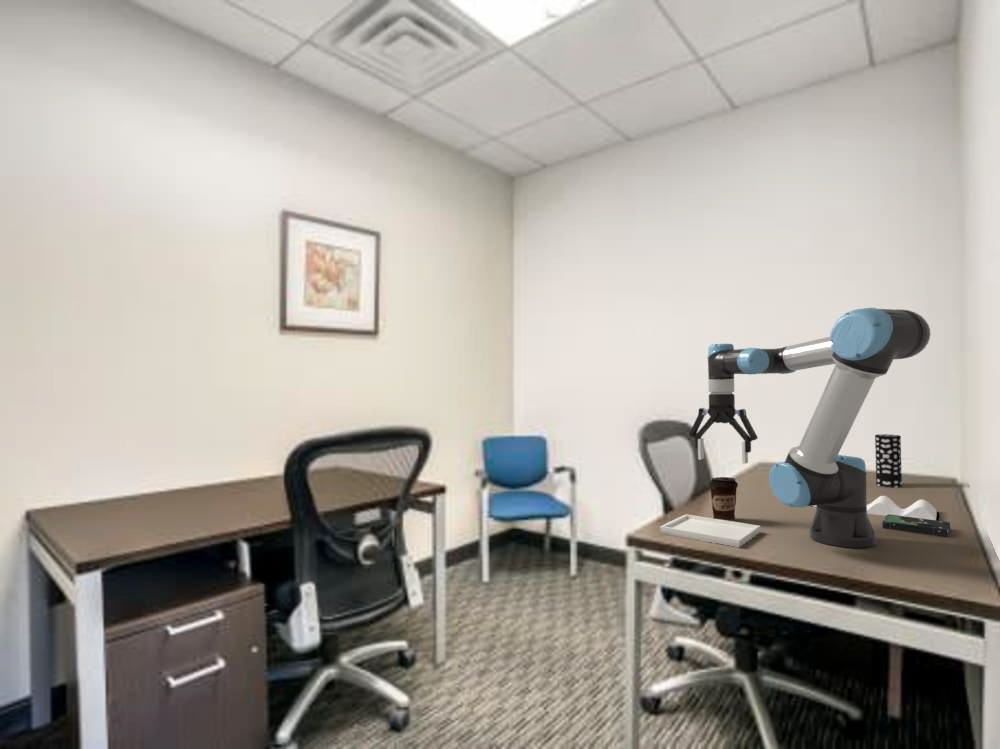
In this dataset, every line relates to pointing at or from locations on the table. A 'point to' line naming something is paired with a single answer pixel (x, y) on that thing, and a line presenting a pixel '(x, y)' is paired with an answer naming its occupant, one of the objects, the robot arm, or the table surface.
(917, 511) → the white wavy piece
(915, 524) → the disk drive
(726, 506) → the coffee cup
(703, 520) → the tray
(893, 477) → the white-spotted black cylinder
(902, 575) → the table surface
